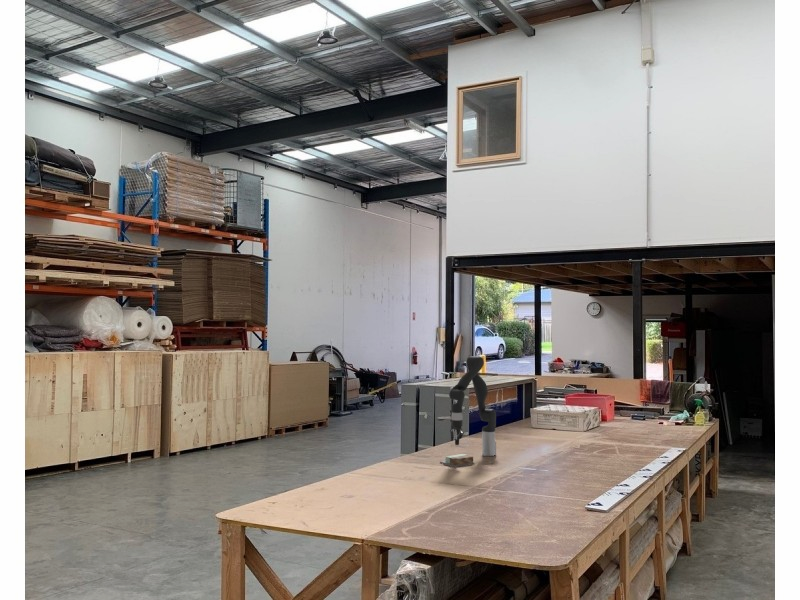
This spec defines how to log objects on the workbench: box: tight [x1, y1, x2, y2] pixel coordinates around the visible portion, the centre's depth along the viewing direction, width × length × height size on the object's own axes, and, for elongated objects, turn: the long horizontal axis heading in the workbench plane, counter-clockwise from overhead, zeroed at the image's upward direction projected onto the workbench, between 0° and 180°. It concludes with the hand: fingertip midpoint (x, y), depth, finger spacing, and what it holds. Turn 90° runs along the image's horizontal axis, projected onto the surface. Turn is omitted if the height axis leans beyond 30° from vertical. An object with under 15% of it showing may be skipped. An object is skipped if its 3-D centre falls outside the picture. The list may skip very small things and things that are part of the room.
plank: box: [445, 453, 469, 464], centre depth 445 cm, size 16×5×4 cm, turn 127°
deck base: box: [439, 460, 475, 468], centre depth 444 cm, size 18×15×1 cm
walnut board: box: [450, 454, 474, 465], centre depth 440 cm, size 16×5×4 cm, turn 121°
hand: (457, 444), depth 444 cm, fingers closed
